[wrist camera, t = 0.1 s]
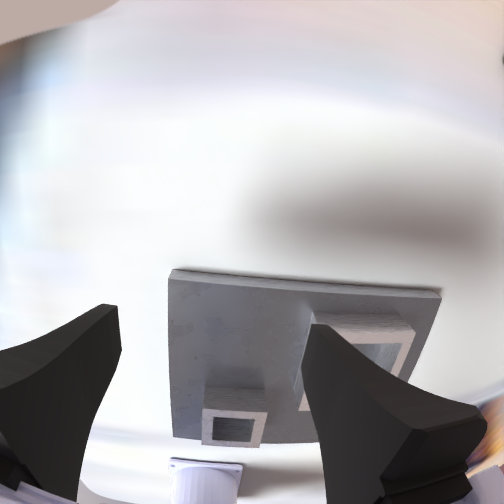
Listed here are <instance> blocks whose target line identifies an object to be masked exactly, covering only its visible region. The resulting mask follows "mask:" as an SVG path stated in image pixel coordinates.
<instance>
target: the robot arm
mask: <svg viewBox="0 0 504 504" xmlns="http://www.w3.org/2000/svg"><path fill="white" fill-rule="evenodd" d="M121 351H122V347H121V338H120V329H119V318H118V307H117V306H116V305H109V304H101V305H99V306H97V307H95V308H93V309H91V310H89V311H88V312H86V313H84V314H82V315H81V316H79V317H77V318H75V319H74V320H72V321H70V322H69V323H67V324H65V325H63V326H61V327H59V328H57V329H55V330H53V331H51V332H50V333H48V334H46V335H43V336H41V337H39V338H37V339H34V340H32V341H29V342H27V343H24V344H21V345H18V346H15V347H11V348H8V349H5V350H1V351H0V504H79V503H76V501H77V492H78V484H79V478H80V472H81V467H82V462H83V457H84V453H85V448H86V444H87V440H88V437H89V433H90V430H91V426H92V423H93V420H94V418H95V415H96V413H97V410H98V408H99V406H100V404H101V402H102V399H103V397H104V395H105V393H106V391H107V389H108V386H109V384H110V382H111V380H112V378H113V376H114V373H115V371H116V368H117V365H118V362H119V358H120V355H121ZM301 372H302V379H303V386H304V390H305V394H306V398H307V401H308V404H309V408H310V411H311V414H312V418H313V421H314V424H315V428H316V431H317V435H318V439H319V443H320V449H321V456H322V462H323V470H324V478H325V487H326V499H327V504H504V475H503V473H502V472H501V470H500V469H499V467H498V465H494V466H492V467H489V468H487V469H485V470H483V471H481V472H478V473H476V474H474V475H473V476H471V477H470V478H469V479H468V478H467V477H466V475H465V472H467V470H468V465H467V464H466V462H465V460H466V459H467V458H468V457H469V456H470V454H471V453H472V452H473V451H474V449H475V448H476V447H477V446H478V444H479V443H480V442H481V440H482V439H483V437H484V435H485V433H486V430H487V422H486V420H485V419H484V417H483V416H482V414H481V413H480V412H479V410H478V409H477V407H476V406H474V405H469V404H465V403H461V402H457V401H453V400H449V399H446V398H443V397H440V396H437V395H434V394H432V393H429V392H426V391H424V390H422V389H420V388H417V387H415V386H413V385H411V384H409V383H407V382H405V381H403V380H401V379H399V378H398V377H396V376H394V375H393V374H391V373H389V372H388V371H386V370H384V369H383V368H381V367H380V366H379V365H377V364H376V363H374V362H373V361H372V360H370V359H369V358H368V357H366V356H365V355H364V354H362V353H361V352H360V351H359V350H357V349H356V348H355V347H354V346H353V345H351V344H350V343H349V342H348V341H347V340H346V339H344V338H343V337H342V336H341V335H340V334H338V333H337V332H336V331H335V330H334V329H332V328H331V327H330V326H328V325H327V324H311V328H310V332H309V336H308V340H307V344H306V348H305V352H304V356H303V360H302V364H301ZM168 466H169V473H170V480H171V486H172V493H171V502H170V504H237V494H238V489H239V485H240V480H241V475H242V470H243V466H242V465H239V464H220V463H207V462H196V461H187V460H178V459H169V460H168ZM101 504H104V503H101Z"/></svg>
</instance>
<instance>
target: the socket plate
mask: <svg viewBox="0 0 504 504" xmlns="http://www.w3.org/2000/svg"><path fill="white" fill-rule="evenodd" d="M441 300H442V298H441V297H440V296H439V295H438V294H436V293H435V292H434V291H433V290H419V289H402V288H386V287H371V286H356V285H342V284H329V283H316V282H303V281H291V280H279V279H267V278H255V277H244V276H233V275H223V274H212V273H202V272H192V271H182V270H172V272H171V274H170V276H169V278H168V347H169V378H170V398H171V414H172V428H173V437H178V438H186V439H195V440H202V444H201V445H211V446H225V447H245V448H259V446H260V443H267V444H281V443H314V442H319V439H318V435H317V431H316V428H315V424H314V421H313V418H312V414H311V411H310V408H309V404H308V401H307V398H306V394H305V390H304V386H303V379H302V372H301V364H302V360H303V356H304V352H305V348H306V344H307V340H308V336H309V332H310V328H311V324H327V325H328V326H330V327H331V328H332V329H334V330H335V331H336V332H337V333H338V334H340V335H341V336H342V337H343V338H344V339H346V340H347V341H348V342H349V343H350V344H351V345H353V346H354V347H355V348H356V349H357V350H359V351H360V352H361V353H362V354H364V355H365V356H366V357H368V358H369V359H370V360H372V361H373V362H374V363H376V364H377V365H379V366H380V367H381V368H383V369H384V370H386V371H388V372H389V373H391V374H393V375H394V376H396V377H398V378H399V379H401V380H403V381H405V382H408V380H409V378H410V376H411V374H412V371H413V369H414V367H415V365H416V363H417V360H418V358H419V356H420V354H421V351H422V349H423V347H424V344H425V342H426V339H427V337H428V335H429V332H430V330H431V327H432V324H433V322H434V319H435V317H436V314H437V311H438V308H439V306H440V303H441Z"/></svg>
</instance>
